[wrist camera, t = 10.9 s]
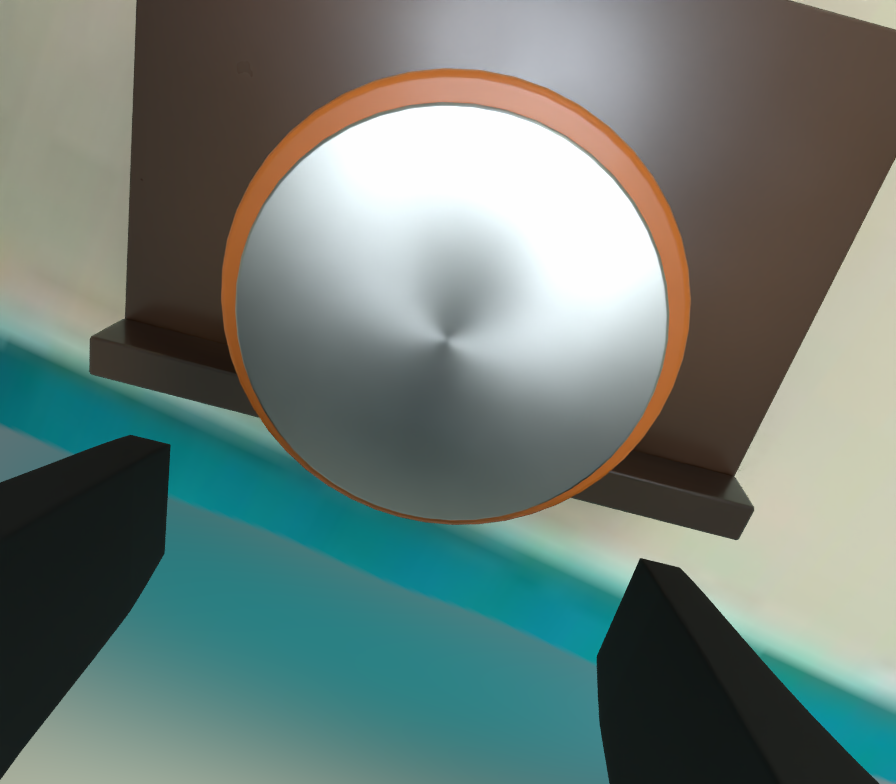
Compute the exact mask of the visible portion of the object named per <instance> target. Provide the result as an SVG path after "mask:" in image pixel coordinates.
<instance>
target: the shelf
mask: <svg viewBox="0 0 896 784" xmlns="http://www.w3.org/2000/svg"><path fill="white" fill-rule="evenodd" d="M440 68H452V69H474V70H484V71H489V72H494V73H499V74H504V75H509V76H514V77H517V78H520V79H523V80H526V81H529V82H532V83H535V84H537V85H540V86H543V87H546V88H549V89H551V90H552V91H554V92H556V93H558V94H560V95H562V96H564V97H566V98H568V99H570V100H571V101H573V102H575V103H577V104H579V105H581V106H582V107H583V108H585V109H586V110H588V111H589V112H590V113H592V114H593V115H594V116H596V117H597V118H599V119H600V120H601V121H603V122H604V123H605V124H607V125H608V126H609V127H610V128H611V129H612V130H613V131H614V132H615V133H616V134H617V135H618V136H619V137H620V138H621V139H622V140H623V141H625V142H626V143H627V144H628V145H629V146H630V147H631V148H632V149H633V150H634V152H635V153H636V154H637V156H638V157H639V158H640V160H641V161H642V162H643V164H644V165H645V166H646V168H647V169H648V170H649V171H650V173H651V174H652V175H653V177H654V178H655V180H656V182H657V184H658V186H659V187H660V189H661V191H662V193H663V195H664V196H665V198H666V200H667V202H668V204H669V206H670V208H671V210H672V213H673V216H674V218H675V221H676V224H677V226H678V229H679V232H680V234H681V237H682V241H683V246H684V250H685V255H686V259H687V264H688V268H689V282H690V295H691V305H690V321H689V332H688V337H687V342H686V347H685V351H684V356H683V361H682V363H681V366H680V369H679V372H678V375H677V378H676V380H675V383H674V386H673V388H672V390H671V392H670V394H669V396H668V398H667V400H666V402H665V404H664V406H663V408H662V410H661V412H660V414H659V415H658V417H657V418H656V420H655V421H654V423H653V424H652V426H651V427H650V428H649V430H648V431H647V433H646V434H645V436H644V437H643V438H642V440H641V441H640V442H639V443H638V444H637V445H636V446H635V447H634V449H633V450H632V451H631V452H630V453H629V454H628V455H627V456H626V457H625V459H623V460H622V461H621V462H620V463H619V464H618V465H617V466H615V467H614V468H613V469H612V470H611V471H610V472H609V473H607V474H606V475H605V476H604V477H603V478H601V479H600V480H598V481H597V482H595V483H594V484H592V485H591V486H589V487H588V488H586V489H585V490H583V491H582V492H580V493H578V494H576V495H574V496H572V497H571V498H574V499H578V500H582V501H586V502H590V503H594V504H597V505H601V506H605V507H609V508H613V509H617V510H621V511H625V512H629V513H632V514H636V515H640V516H644V517H648V518H652V519H656V520H660V521H664V522H667V523H671V524H675V525H679V526H683V527H687V528H691V529H695V530H699V531H702V532H706V533H710V534H714V535H718V536H722V537H726V538H730V539H734V540H738V539H739V538H740V536H741V534H742V532H743V530H744V528H745V527H746V525H747V523H748V521H749V519H750V517H751V515H752V514H753V512H754V506H753V505H752V503H751V502H750V500H749V498H748V497H747V495H746V494H745V492H744V490H743V489H742V487H741V486H740V484H739V483H738V481H737V479H736V478H735V477H734V476H735V474H736V472H737V470H738V468H739V466H740V464H741V462H742V460H743V458H744V456H745V454H746V452H747V450H748V448H749V446H750V444H751V442H752V440H753V438H754V436H755V434H756V432H757V430H758V428H759V426H760V424H761V422H762V420H763V418H764V417H765V415H766V413H767V411H768V409H769V407H770V405H771V403H772V401H773V399H774V397H775V395H776V393H777V391H778V389H779V387H780V385H781V383H782V381H783V379H784V377H785V375H786V373H787V371H788V369H789V367H790V365H791V363H792V361H793V359H794V357H795V355H796V353H797V351H798V349H799V347H800V345H801V343H802V341H803V339H804V338H805V336H806V334H807V332H808V330H809V328H810V326H811V324H812V322H813V320H814V318H815V316H816V314H817V312H818V310H819V308H820V306H821V304H822V302H823V300H824V298H825V296H826V294H827V292H828V290H829V288H830V286H831V284H832V282H833V280H834V278H835V276H836V274H837V272H838V270H839V268H840V266H841V264H842V262H843V260H844V259H845V257H846V255H847V253H848V251H849V249H850V247H851V245H852V243H853V241H854V239H855V237H856V235H857V233H858V231H859V229H860V227H861V225H862V223H863V221H864V219H865V217H866V215H867V213H868V211H869V209H870V207H871V205H872V203H873V201H874V199H875V197H876V195H877V193H878V191H879V189H880V187H881V185H882V183H883V181H884V180H885V178H886V176H887V174H888V172H889V170H890V168H891V166H892V164H893V162H894V160H895V158H896V30H895V29H892V28H888V27H884V26H881V25H877V24H874V23H870V22H866V21H863V20H859V19H856V18H852V17H848V16H845V15H841V14H837V13H834V12H830V11H827V10H823V9H819V8H816V7H812V6H809V5H805V4H801V3H798V2H794V1H791V0H137V5H136V33H135V60H134V88H133V115H132V143H131V171H130V198H129V226H128V253H127V281H126V308H125V319H122V320H121V321H119V322H117V323H115V324H113V325H111V326H109V327H108V328H106V329H104V330H102V331H100V332H98V333H96V334H94V335H93V336H91V338H90V370H89V372H90V374H92V375H95V376H99V377H103V378H107V379H111V380H115V381H119V382H123V383H127V384H130V385H134V386H138V387H142V388H146V389H150V390H154V391H158V392H162V393H166V394H169V395H173V396H177V397H181V398H185V399H189V400H193V401H197V402H201V403H204V404H208V405H212V406H216V407H220V408H224V409H228V410H232V411H236V412H239V413H243V414H247V415H251V416H255V417H259V416H258V414H257V413H256V412H255V410H254V409H253V407H252V405H251V403H250V401H249V399H248V397H247V395H246V393H245V391H244V389H243V387H242V386H241V384H240V381H239V378H238V376H237V373H236V370H235V368H234V365H233V362H232V359H231V357H230V352H229V348H228V344H227V340H226V335H225V331H224V323H223V313H222V303H221V289H222V267H223V261H224V255H225V249H226V243H227V238H228V235H229V232H230V229H231V226H232V223H233V219H234V216H235V213H236V210H237V208H238V206H239V204H240V202H241V200H242V198H243V196H244V193H245V191H246V189H247V187H248V185H249V183H250V181H251V180H252V178H253V177H254V175H255V174H256V172H257V171H258V169H259V168H260V166H261V165H262V163H263V162H264V160H265V159H266V157H267V156H268V155H269V154H270V153H271V152H272V150H273V149H274V148H275V147H276V146H277V145H278V144H279V143H280V142H281V140H282V139H283V138H284V137H285V136H286V135H287V134H288V133H289V132H290V131H291V130H292V129H293V128H295V127H296V126H297V125H298V124H299V123H301V122H302V121H303V120H304V119H306V118H307V117H308V116H309V115H310V114H312V113H313V112H314V111H315V110H317V109H319V108H320V107H322V106H324V105H325V104H327V103H329V102H330V101H332V100H334V99H335V98H337V97H339V96H340V95H342V94H344V93H346V92H348V91H351V90H353V89H356V88H358V87H360V86H363V85H365V84H368V83H370V82H372V81H375V80H378V79H382V78H386V77H390V76H394V75H398V74H402V73H406V72H411V71H421V70H431V69H440ZM259 418H260V417H259Z"/></svg>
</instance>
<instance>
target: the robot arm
mask: <svg viewBox="0 0 896 784" xmlns="http://www.w3.org/2000/svg"><path fill="white" fill-rule="evenodd" d="M169 462H170V444H166V443H162V442H158V441H154V440H149V439H145V438H141V437H137V436H133V435H129V436H125V437H122V438H119V439H116V440H113V441H110V442H107V443H104V444H101V445H98V446H96V447H93V448H90V449H88V450H85V451H82V452H80V453H77V454H75V455H72V456H69V457H67V458H64V459H62V460H59V461H57V462H54V463H51V464H48V465H46V466H43V467H41V468H38V469H35V470H33V471H30V472H28V473H25V474H22V475H19V476H17V477H14V478H11V479H9V480H6V481H3V482H1V483H0V779H1V778H2V777H3V775H4V774H5V773H6V771H7V770H8V768H9V767H10V765H11V764H12V763H13V762H14V760H15V758H16V757H17V756H18V755H19V753H20V752H21V751H22V749H23V748H24V747H25V746H26V744H27V743H28V742H29V740H30V739H31V738H32V736H33V735H34V734H35V733H36V732H37V730H38V729H39V728H40V726H41V725H42V724H43V723H44V721H45V720H46V719H47V718H48V716H49V715H50V714H51V712H52V711H53V710H54V709H55V707H56V706H57V705H58V704H59V702H60V701H61V700H62V698H63V697H64V696H65V695H66V693H67V692H68V691H69V690H70V688H71V687H72V686H73V684H74V683H75V682H76V681H77V679H78V678H79V677H80V675H81V674H82V673H83V672H84V670H85V669H86V668H87V667H88V665H89V664H90V663H91V662H92V660H93V659H94V658H95V656H96V655H97V654H98V652H99V651H100V650H101V649H102V647H103V646H104V645H105V644H106V642H107V641H108V640H109V638H110V637H111V636H112V634H113V633H114V632H115V631H116V629H117V628H118V627H119V625H120V624H121V623H122V621H123V620H124V619H125V617H126V616H127V615H128V613H129V612H130V611H131V609H132V607H133V606H134V604H135V602H136V601H137V599H138V598H139V596H140V594H141V593H142V591H143V589H144V588H145V586H146V585H147V583H148V581H149V579H150V577H151V576H152V574H153V572H154V571H155V569H156V567H157V565H158V564H159V562H160V560H161V559H162V557H163V555H164V551H165V534H166V516H167V498H168V480H169ZM597 680H598V681H597V683H598V702H599V703H598V704H599V721H600V728H601V735H602V741H603V747H604V753H605V759H606V765H607V771H608V777H609V783H610V784H879V783H878V782H877V781H876V780H875V779H874V778H873V777H872V776H871V775H870V774H869V773H868V772H867V771H866V770H865V769H864V768H863V767H862V766H861V765H860V764H859V763H858V762H857V761H856V760H855V759H854V758H853V757H852V756H851V755H850V754H849V753H848V752H847V751H846V750H845V749H844V748H843V747H842V746H841V745H840V744H839V743H838V742H837V741H836V740H835V739H834V738H833V737H832V736H831V734H830V733H829V732H828V731H827V730H826V729H825V728H824V727H823V726H822V725H821V724H820V723H819V722H818V721H817V720H816V719H815V718H814V717H813V716H812V715H811V714H810V713H809V712H808V710H807V709H806V708H805V707H804V706H803V705H802V704H801V703H800V702H799V701H798V700H797V699H796V698H795V696H794V695H793V694H792V693H791V692H790V691H789V690H788V689H787V688H786V687H785V685H784V684H783V683H782V682H781V681H780V680H779V679H778V678H777V677H776V675H775V674H774V673H773V672H772V671H771V670H770V669H769V668H768V666H767V665H766V664H765V663H764V662H763V661H762V660H761V659H760V657H759V656H758V655H757V654H756V653H755V652H754V651H753V649H752V648H751V647H750V646H749V645H748V644H747V643H746V641H745V640H744V639H743V638H742V637H741V636H740V634H739V633H738V632H737V631H736V630H735V629H734V628H733V626H732V625H731V624H730V623H729V622H728V621H727V619H726V618H725V617H724V616H723V615H722V614H721V612H720V611H719V610H718V609H717V608H716V607H715V606H714V604H713V603H712V602H711V601H710V600H709V599H708V598H707V596H706V595H705V594H704V593H703V592H702V591H701V590H700V588H699V587H698V586H697V585H696V584H695V583H694V582H693V581H692V580H691V579H690V578H689V577H688V576H687V575H686V574H685V572H684V571H683V570H682V569H681V568H679V567H675V566H671V565H667V564H663V563H658V562H654V561H650V560H646V559H642V558H640V560H639V562H638V564H637V567H636V569H635V571H634V573H633V576H632V578H631V580H630V582H629V585H628V587H627V589H626V591H625V594H624V596H623V598H622V601H621V603H620V605H619V607H618V610H617V612H616V614H615V616H614V619H613V621H612V623H611V625H610V628H609V630H608V632H607V634H606V637H605V639H604V641H603V644H602V646H601V648H600V650H599V653H598V655H597Z"/></svg>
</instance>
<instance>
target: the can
mask: <svg viewBox="0 0 896 784" xmlns="http://www.w3.org/2000/svg"><path fill="white" fill-rule="evenodd" d="M221 303H222V313H223V323H224V331H225V335H226V340H227V344H228V348H229V352H230V357H231V359H232V362H233V365H234V368H235V370H236V373H237V376H238V378H239V381H240V384H241V386H242V387H243V389H244V391H245V393H246V395H247V397H248V399H249V401H250V403H251V405H252V407H253V409H254V410H255V412H256V413H257V414H258V416H259V417H260V419H261V420H262V422H263V423H264V425H265V426H266V428H267V429H268V431H269V432H270V433H271V434H272V435H273V436H274V438H275V439H276V440H277V441H278V442H279V443H280V445H281V446H282V447H283V448H284V449H285V450H286V451H287V452H288V453H289V454H290V455H291V456H292V457H293V458H294V459H295V460H296V461H297V462H298V463H300V464H301V465H302V466H303V467H304V468H305V469H306V470H307V471H309V472H310V473H312V474H313V475H314V476H316V477H317V478H318V479H320V480H321V481H322V482H324V483H325V484H327V485H328V486H330V487H331V488H333V489H335V490H337V491H338V492H340V493H342V494H344V495H345V496H347V497H349V498H351V499H353V500H355V501H357V502H360V503H362V504H364V505H367V506H369V507H371V508H373V509H376V510H379V511H382V512H385V513H389V514H392V515H395V516H398V517H402V518H407V519H412V520H417V521H422V522H428V523H440V524H451V525H460V524H484V523H491V522H498V521H506V520H510V519H514V518H518V517H522V516H526V515H530V514H533V513H536V512H538V511H541V510H544V509H546V508H549V507H552V506H554V505H557V504H559V503H561V502H563V501H565V500H567V499H569V498H571V497H572V496H574V495H576V494H578V493H580V492H582V491H583V490H585V489H586V488H588V487H589V486H591V485H592V484H594V483H595V482H597V481H598V480H600V479H601V478H603V477H604V476H605V475H606V474H607V473H609V472H610V471H611V470H612V469H613V468H614V467H615V466H617V465H618V464H619V463H620V462H621V461H622V460H623V459H625V457H626V456H627V455H628V454H629V453H630V452H631V451H632V450H633V449H634V447H635V446H636V445H637V444H638V443H639V442H640V441H641V440H642V438H643V437H644V436H645V434H646V433H647V431H648V430H649V428H650V427H651V426H652V424H653V423H654V421H655V420H656V418H657V417H658V415H659V414H660V412H661V410H662V408H663V406H664V404H665V402H666V400H667V398H668V396H669V394H670V392H671V390H672V388H673V386H674V383H675V380H676V378H677V375H678V372H679V369H680V366H681V363H682V361H683V356H684V351H685V347H686V342H687V337H688V332H689V321H690V305H691V295H690V282H689V268H688V264H687V259H686V255H685V250H684V246H683V241H682V237H681V234H680V232H679V229H678V226H677V224H676V221H675V218H674V216H673V213H672V210H671V208H670V206H669V204H668V202H667V200H666V198H665V196H664V195H663V193H662V191H661V189H660V187H659V186H658V184H657V182H656V180H655V178H654V177H653V175H652V174H651V173H650V171H649V170H648V169H647V168H646V166H645V165H644V164H643V162H642V161H641V160H640V158H639V157H638V156H637V154H636V153H635V152H634V150H633V149H632V148H631V147H630V146H629V145H628V144H627V143H626V142H625V141H623V140H622V139H621V138H620V137H619V136H618V135H617V134H616V133H615V132H614V131H613V130H612V129H611V128H610V127H609V126H608V125H607V124H605V123H604V122H603V121H601V120H600V119H599V118H597V117H596V116H594V115H593V114H592V113H590V112H589V111H588V110H586V109H585V108H583V107H582V106H581V105H579V104H577V103H575V102H573V101H571V100H570V99H568V98H566V97H564V96H562V95H560V94H558V93H556V92H554V91H552V90H551V89H549V88H546V87H543V86H540V85H537V84H535V83H532V82H529V81H526V80H523V79H520V78H517V77H514V76H509V75H504V74H499V73H494V72H489V71H484V70H474V69H452V68H440V69H431V70H421V71H411V72H406V73H402V74H398V75H394V76H390V77H386V78H382V79H378V80H375V81H372V82H370V83H368V84H365V85H363V86H360V87H358V88H356V89H353V90H351V91H348V92H346V93H344V94H342V95H340V96H339V97H337V98H335V99H334V100H332V101H330V102H329V103H327V104H325V105H324V106H322V107H320V108H319V109H317V110H315V111H314V112H313V113H312V114H310V115H309V116H308V117H307V118H306V119H304V120H303V121H302V122H301V123H299V124H298V125H297V126H296V127H295V128H293V129H292V130H291V131H290V132H289V133H288V134H287V135H286V136H285V137H284V138H283V139H282V140H281V142H280V143H279V144H278V145H277V146H276V147H275V148H274V149H273V150H272V152H271V153H270V154H269V155H268V156H267V157H266V159H265V160H264V162H263V163H262V165H261V166H260V168H259V169H258V171H257V172H256V174H255V175H254V177H253V178H252V180H251V181H250V183H249V185H248V187H247V189H246V191H245V193H244V196H243V198H242V200H241V202H240V204H239V206H238V208H237V210H236V213H235V216H234V219H233V223H232V226H231V229H230V232H229V235H228V238H227V243H226V249H225V255H224V261H223V267H222V289H221Z"/></svg>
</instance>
